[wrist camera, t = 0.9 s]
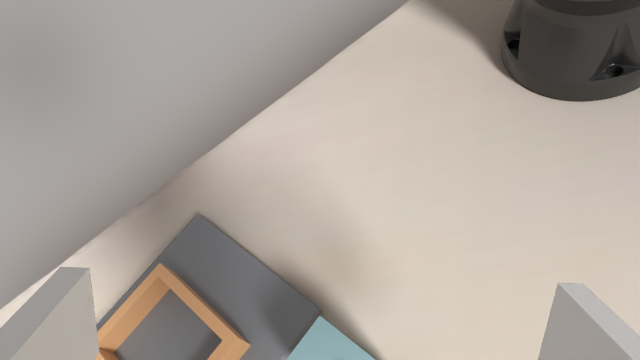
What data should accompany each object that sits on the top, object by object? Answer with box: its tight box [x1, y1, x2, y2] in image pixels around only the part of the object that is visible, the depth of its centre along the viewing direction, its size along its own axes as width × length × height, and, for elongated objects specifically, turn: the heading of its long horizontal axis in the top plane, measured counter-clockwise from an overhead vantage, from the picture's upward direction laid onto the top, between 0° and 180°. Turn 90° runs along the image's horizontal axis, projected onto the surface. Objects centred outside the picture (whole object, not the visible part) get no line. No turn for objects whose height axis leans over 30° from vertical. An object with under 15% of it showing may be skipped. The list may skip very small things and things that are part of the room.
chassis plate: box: [94, 214, 322, 360], centre depth 41 cm, size 22×18×4 cm
